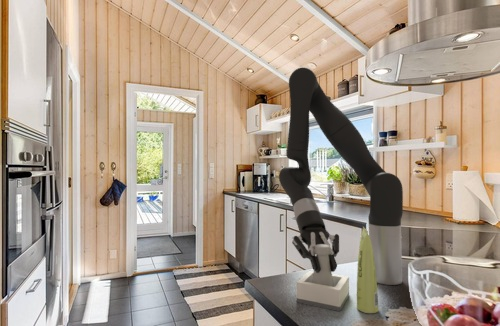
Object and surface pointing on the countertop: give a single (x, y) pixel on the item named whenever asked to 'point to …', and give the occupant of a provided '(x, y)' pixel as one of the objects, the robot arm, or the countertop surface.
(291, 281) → the countertop surface
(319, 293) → the socket dock
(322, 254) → the salt shaker
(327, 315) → the countertop surface
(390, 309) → the countertop surface
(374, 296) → the tube
